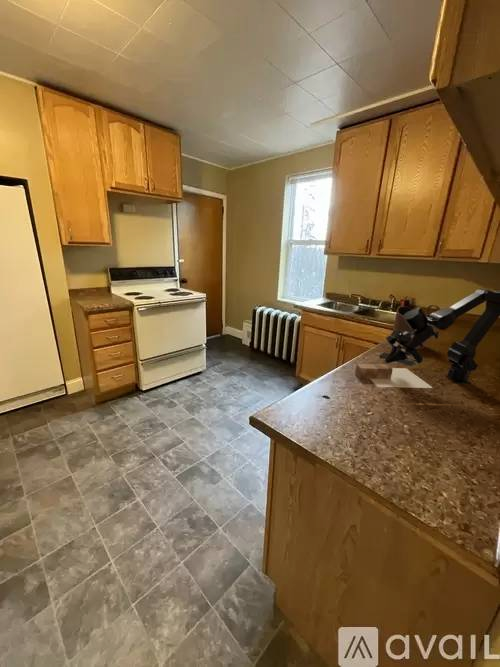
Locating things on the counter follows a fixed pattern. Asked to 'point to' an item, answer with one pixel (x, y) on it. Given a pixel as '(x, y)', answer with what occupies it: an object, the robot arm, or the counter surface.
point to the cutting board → (401, 380)
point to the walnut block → (373, 371)
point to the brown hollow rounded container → (402, 324)
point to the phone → (407, 362)
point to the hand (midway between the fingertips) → (385, 362)
